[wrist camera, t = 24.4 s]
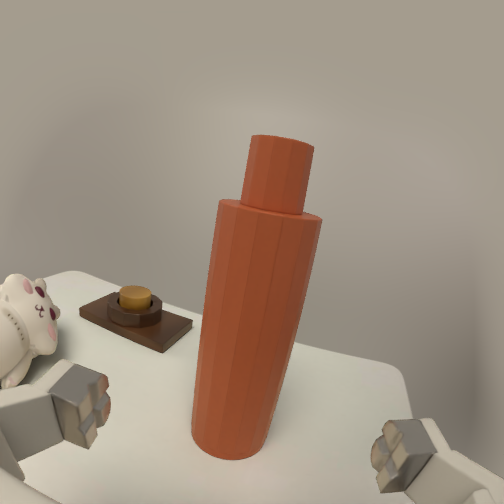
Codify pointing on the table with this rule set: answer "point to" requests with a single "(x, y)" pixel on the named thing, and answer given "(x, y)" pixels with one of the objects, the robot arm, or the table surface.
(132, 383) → the table surface
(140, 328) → the brown button base
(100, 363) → the table surface
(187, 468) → the table surface
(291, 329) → the orange bottle
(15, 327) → the cat figurine
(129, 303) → the button
